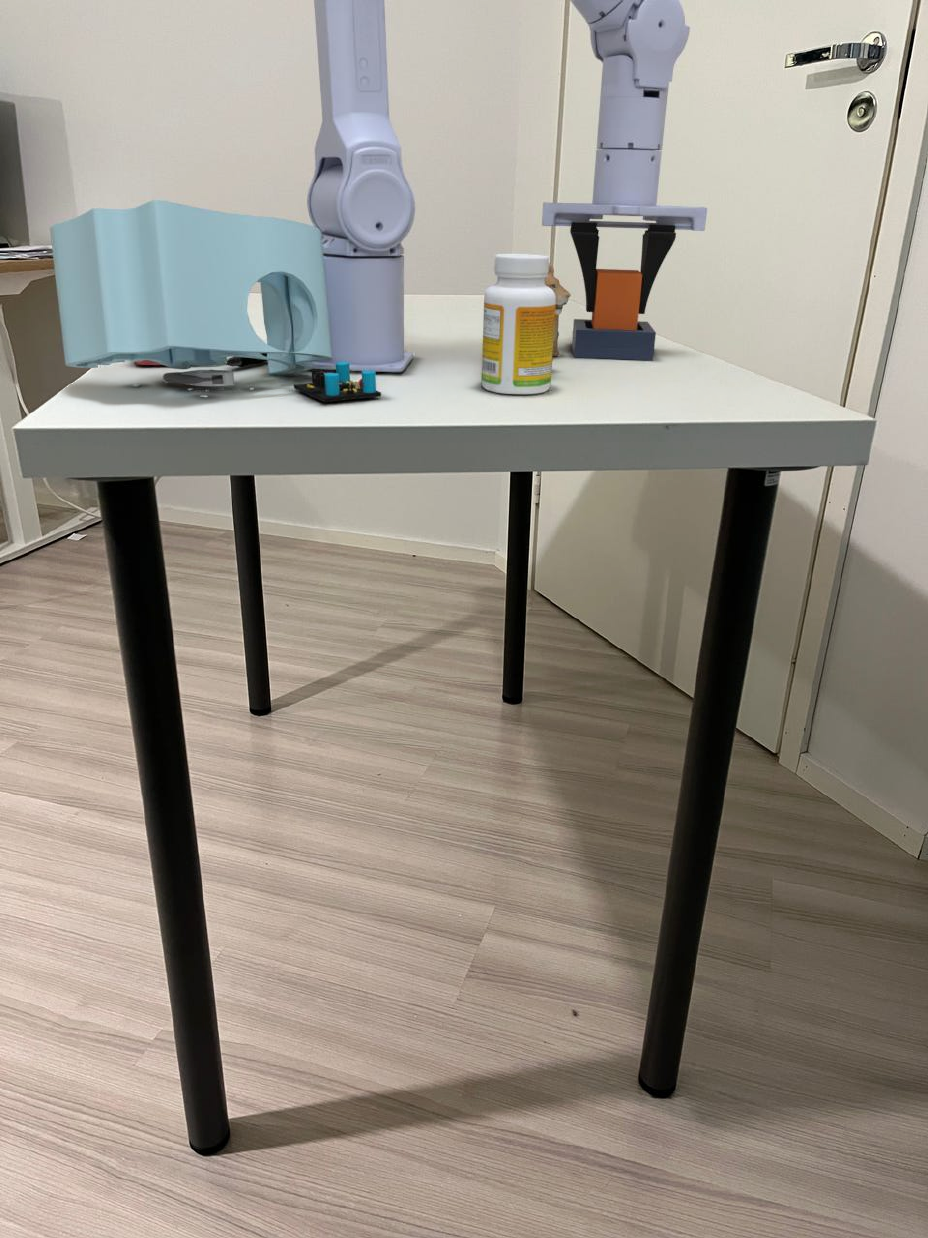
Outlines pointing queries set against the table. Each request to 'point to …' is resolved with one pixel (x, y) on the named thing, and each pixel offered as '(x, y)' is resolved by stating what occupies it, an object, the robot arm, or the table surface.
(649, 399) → the table surface
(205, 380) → the grey piece
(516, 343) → the supplement bottle
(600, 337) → the blue square tray
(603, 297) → the orange rectangular block
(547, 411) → the table surface
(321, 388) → the circuit board
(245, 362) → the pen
